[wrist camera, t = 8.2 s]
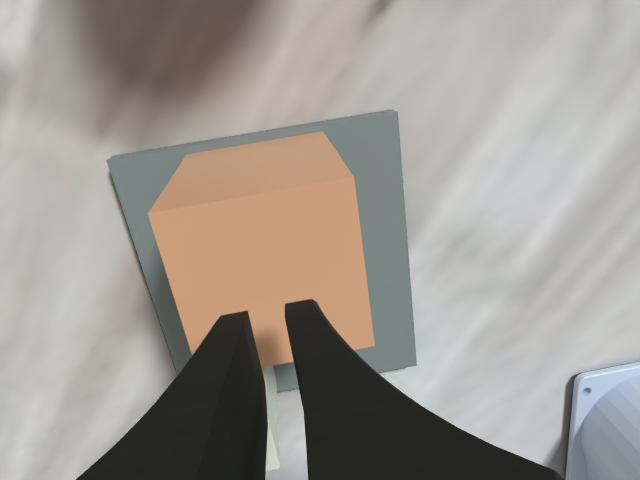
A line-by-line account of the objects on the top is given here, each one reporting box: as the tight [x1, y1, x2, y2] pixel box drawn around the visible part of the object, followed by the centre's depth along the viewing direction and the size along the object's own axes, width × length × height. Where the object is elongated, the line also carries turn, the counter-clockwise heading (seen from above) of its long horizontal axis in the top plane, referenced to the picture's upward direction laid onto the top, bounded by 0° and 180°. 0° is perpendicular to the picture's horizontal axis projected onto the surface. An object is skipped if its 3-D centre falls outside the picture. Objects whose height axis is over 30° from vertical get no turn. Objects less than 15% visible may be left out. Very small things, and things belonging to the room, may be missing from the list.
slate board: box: [107, 110, 417, 392], centre depth 21 cm, size 12×11×1 cm
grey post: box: [262, 366, 280, 471], centre depth 19 cm, size 3×3×5 cm
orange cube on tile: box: [148, 131, 375, 368], centre depth 16 cm, size 5×5×7 cm
